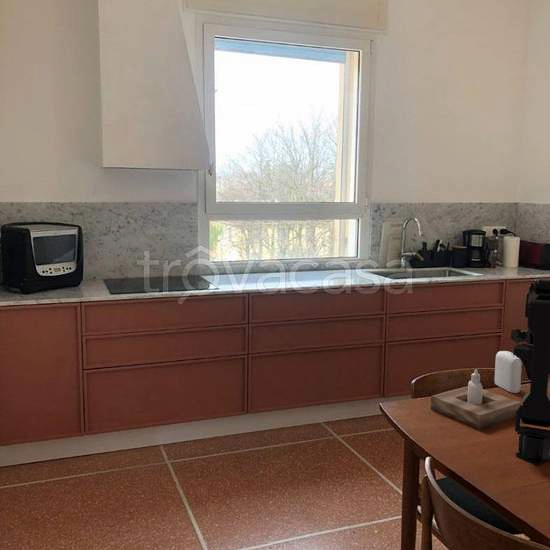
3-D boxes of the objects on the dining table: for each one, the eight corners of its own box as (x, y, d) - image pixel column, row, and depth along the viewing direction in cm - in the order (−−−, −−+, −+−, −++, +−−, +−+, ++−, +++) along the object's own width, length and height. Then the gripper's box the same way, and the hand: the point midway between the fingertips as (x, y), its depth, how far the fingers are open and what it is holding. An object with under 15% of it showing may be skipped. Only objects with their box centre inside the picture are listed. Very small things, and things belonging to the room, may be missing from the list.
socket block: (519, 415, 176) (520, 402, 175) (479, 428, 166) (480, 415, 166) (470, 397, 191) (470, 385, 190) (430, 408, 181) (431, 395, 181)
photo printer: (492, 383, 203) (494, 348, 202) (503, 382, 204) (505, 347, 202) (510, 394, 194) (512, 357, 192) (522, 393, 194) (524, 356, 193)
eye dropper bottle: (482, 406, 180) (484, 368, 178) (480, 413, 175) (483, 373, 173) (467, 404, 182) (469, 366, 180) (465, 410, 177) (467, 371, 175)
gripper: (538, 314, 179) (534, 364, 182) (498, 322, 170) (495, 374, 172) (573, 321, 170) (569, 374, 173) (533, 330, 160) (529, 385, 163)
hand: (540, 376), depth 170 cm, fingers open, 9 cm apart
